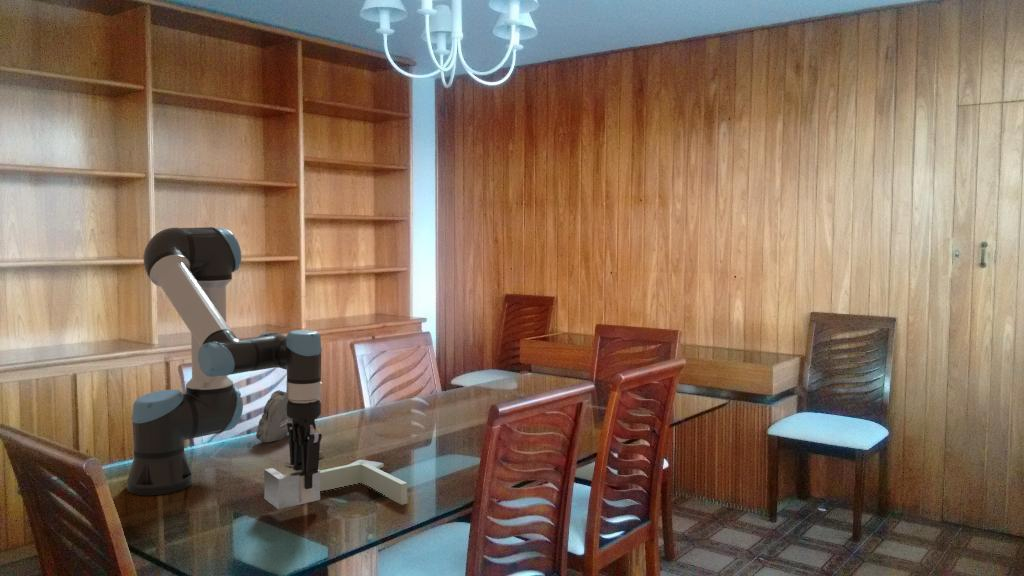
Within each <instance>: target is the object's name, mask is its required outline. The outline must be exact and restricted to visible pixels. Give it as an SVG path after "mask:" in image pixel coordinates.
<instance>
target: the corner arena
mask: <svg viewBox="0 0 1024 576" xmlns="http://www.w3.org/2000/svg"><path fill="white" fill-rule="evenodd" d="M358 483H360V484H361V483H362V484H361V485H363V484H365V485H367V486H369V487H371V488H373V489H375V490H376V491H378V492H380V493H382V494H383V495H382V494H381V495H382V496H384V495H385V496H384V497H385V498H387V497H388V499H389V500H391V501H393V502H395V503H397V504H399V505H401V506H403V505H407V504H408V482H406V481H404V480H402V479H401V478H397V476H393V475H392V474H390V473H388V472H385V471H383V470H381V468H380V469H378V468H376V467H373V466H371V465H369V464H367V463H365V462H359V463H354V464H351V463H349V464H346V465H340V466H336V467H335V466H334V467H330V468H327V469H322V470H321V469H320V491H323V490H329V489H334V488H338V487H343V488H345V487H344V486H347V487H349V486H348V485H352V486H354V485H353V484H356V485H359V484H358ZM365 485H364V486H365ZM367 486H366V487H367ZM369 487H368V488H369ZM371 488H370V489H371ZM334 490H335V489H334ZM376 491H375V492H376ZM378 492H377V493H378ZM380 493H379V494H380Z"/></svg>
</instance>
